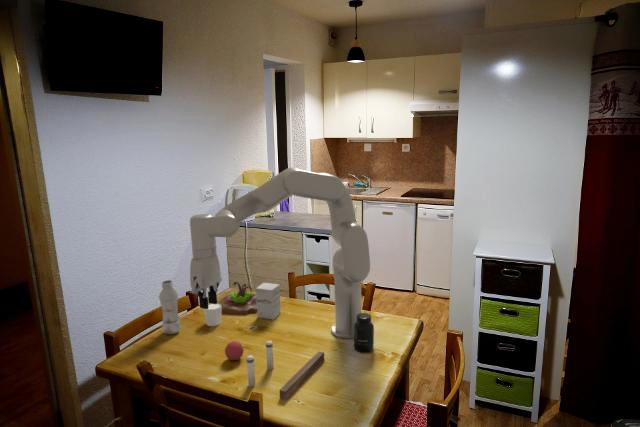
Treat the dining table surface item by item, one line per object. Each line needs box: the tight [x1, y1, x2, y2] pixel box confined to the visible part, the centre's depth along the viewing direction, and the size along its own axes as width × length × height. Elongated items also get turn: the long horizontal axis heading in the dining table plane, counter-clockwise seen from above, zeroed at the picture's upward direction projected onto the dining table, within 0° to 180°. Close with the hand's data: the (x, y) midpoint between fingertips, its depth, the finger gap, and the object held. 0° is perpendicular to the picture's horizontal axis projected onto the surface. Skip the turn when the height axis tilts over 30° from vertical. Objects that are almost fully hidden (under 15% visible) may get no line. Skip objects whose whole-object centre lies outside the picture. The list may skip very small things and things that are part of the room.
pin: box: [265, 340, 275, 371], centre depth 139 cm, size 2×2×9 cm
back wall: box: [278, 350, 325, 400], centre depth 134 cm, size 2×24×2 cm, turn 153°
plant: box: [217, 281, 257, 316], centre depth 190 cm, size 20×20×11 cm
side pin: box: [246, 354, 256, 388], centre depth 130 cm, size 2×2×9 cm
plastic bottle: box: [158, 279, 182, 335], centre depth 165 cm, size 6×7×20 cm
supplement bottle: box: [353, 312, 375, 354], centre depth 150 cm, size 7×7×12 cm
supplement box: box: [255, 282, 281, 321], centre depth 179 cm, size 7×7×13 cm
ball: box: [224, 340, 245, 361], centre depth 146 cm, size 6×6×6 cm
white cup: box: [203, 302, 222, 327], centre depth 174 cm, size 7×7×7 cm
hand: (208, 305), depth 147 cm, fingers open, 3 cm apart
